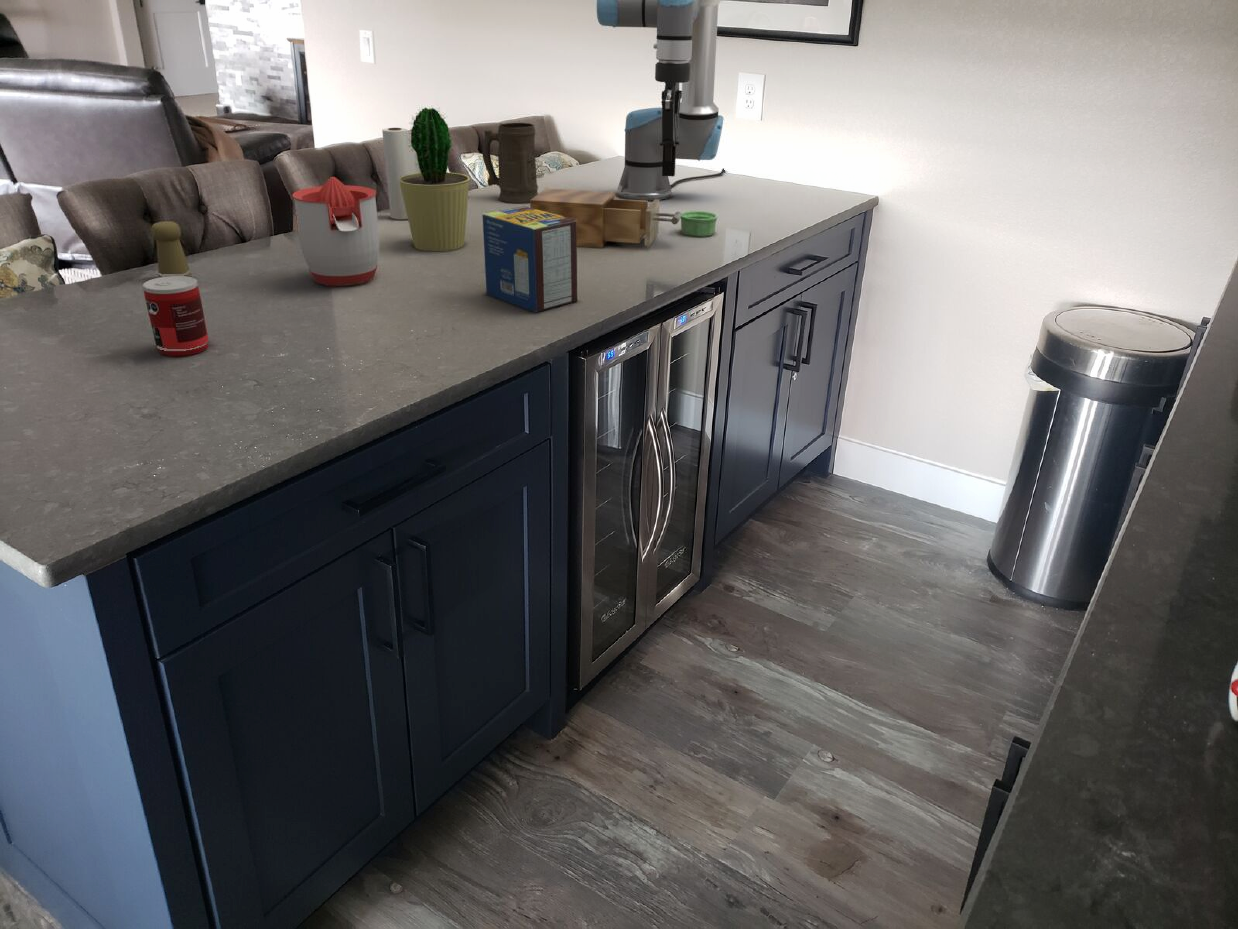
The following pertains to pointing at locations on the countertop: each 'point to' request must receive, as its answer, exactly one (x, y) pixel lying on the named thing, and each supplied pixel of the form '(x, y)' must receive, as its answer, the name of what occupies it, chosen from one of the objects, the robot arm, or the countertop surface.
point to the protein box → (530, 257)
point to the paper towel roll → (398, 166)
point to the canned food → (176, 314)
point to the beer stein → (513, 161)
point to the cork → (169, 248)
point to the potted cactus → (434, 187)
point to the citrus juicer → (338, 232)
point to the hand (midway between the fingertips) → (668, 175)
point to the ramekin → (698, 223)
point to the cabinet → (577, 211)
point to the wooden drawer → (633, 220)
